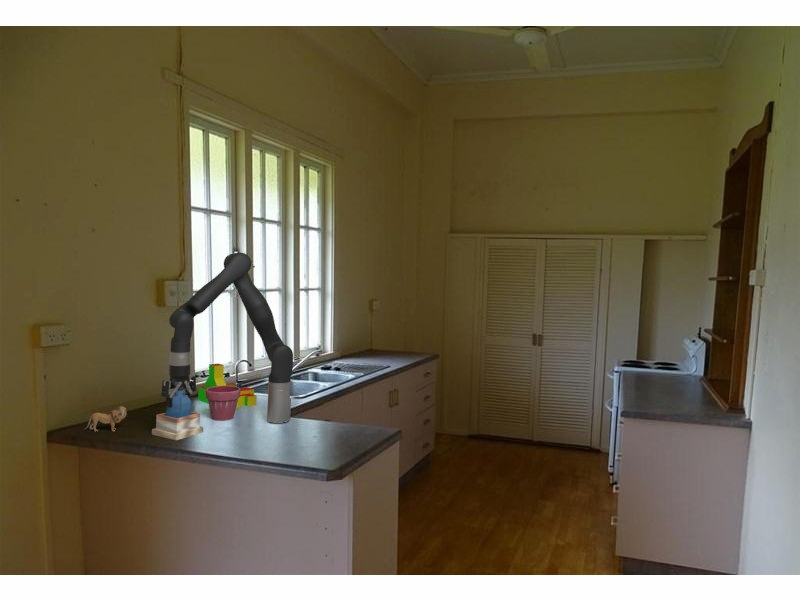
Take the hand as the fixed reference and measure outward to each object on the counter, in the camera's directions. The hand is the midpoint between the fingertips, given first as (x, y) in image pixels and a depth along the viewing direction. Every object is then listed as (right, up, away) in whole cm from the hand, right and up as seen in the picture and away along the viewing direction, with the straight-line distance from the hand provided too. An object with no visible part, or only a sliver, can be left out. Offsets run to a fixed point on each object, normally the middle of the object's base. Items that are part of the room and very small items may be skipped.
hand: (178, 405), depth 209 cm
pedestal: (-1, -11, 0) cm, 11 cm away
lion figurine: (-28, -10, +1) cm, 30 cm away
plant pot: (+9, -11, +25) cm, 28 cm away
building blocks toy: (+2, -9, +54) cm, 55 cm away
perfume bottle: (0, -5, 0) cm, 5 cm away
